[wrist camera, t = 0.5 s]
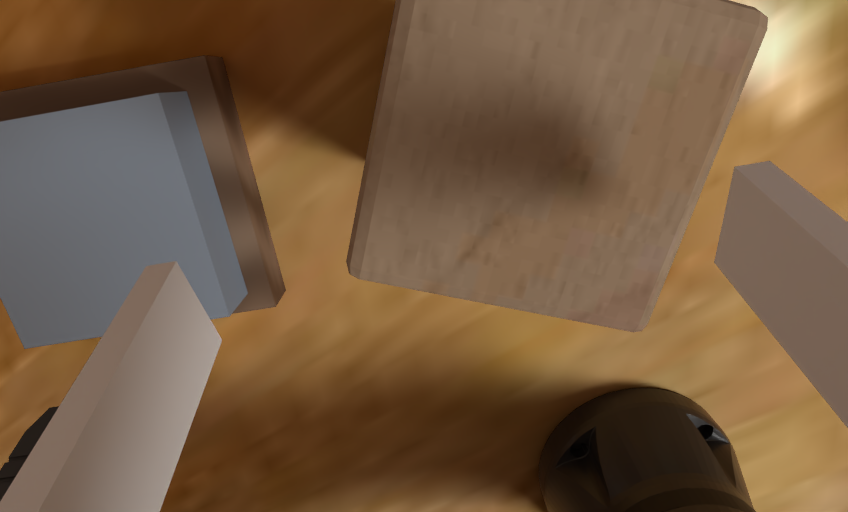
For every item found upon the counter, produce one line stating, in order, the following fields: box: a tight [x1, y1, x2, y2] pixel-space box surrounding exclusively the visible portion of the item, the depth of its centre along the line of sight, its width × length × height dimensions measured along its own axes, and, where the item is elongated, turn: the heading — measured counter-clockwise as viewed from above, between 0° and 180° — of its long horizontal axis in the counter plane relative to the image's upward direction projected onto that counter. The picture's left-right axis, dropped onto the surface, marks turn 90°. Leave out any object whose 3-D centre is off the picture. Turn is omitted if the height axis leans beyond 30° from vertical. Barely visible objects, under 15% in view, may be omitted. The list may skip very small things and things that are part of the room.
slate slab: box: [0, 91, 248, 349], centre depth 31 cm, size 13×13×4 cm
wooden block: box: [346, 0, 768, 332], centre depth 24 cm, size 10×10×20 cm
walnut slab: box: [0, 55, 286, 314], centre depth 34 cm, size 16×16×4 cm
